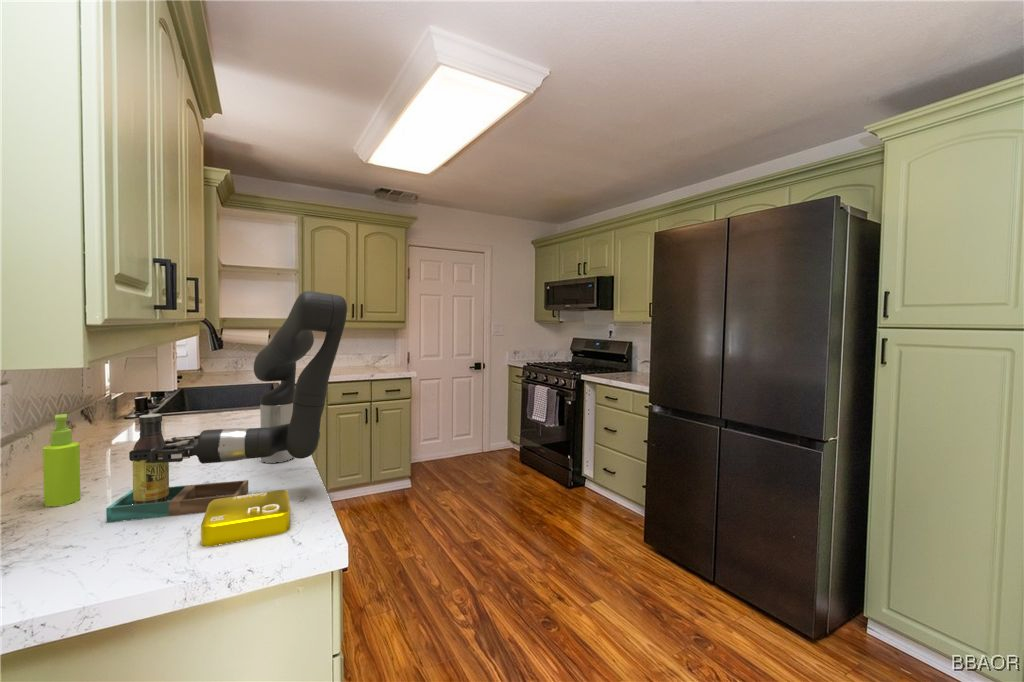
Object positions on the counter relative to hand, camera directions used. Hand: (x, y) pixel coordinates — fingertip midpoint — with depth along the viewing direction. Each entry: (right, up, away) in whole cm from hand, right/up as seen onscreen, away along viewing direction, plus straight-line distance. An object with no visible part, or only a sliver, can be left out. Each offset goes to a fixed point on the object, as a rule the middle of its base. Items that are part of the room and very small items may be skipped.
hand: (137, 451), depth 98 cm
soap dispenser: (-21, -13, +5) cm, 25 cm away
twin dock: (+8, -13, +3) cm, 16 cm away
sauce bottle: (+2, -12, +1) cm, 12 cm away
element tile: (+28, -14, -6) cm, 32 cm away
